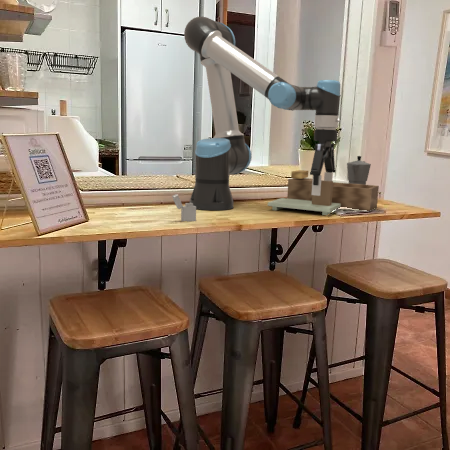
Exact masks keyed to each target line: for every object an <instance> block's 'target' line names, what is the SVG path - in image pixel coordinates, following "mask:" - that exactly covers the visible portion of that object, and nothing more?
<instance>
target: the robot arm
mask: <svg viewBox="0 0 450 450" xmlns="http://www.w3.org/2000/svg"><path fill="white" fill-rule="evenodd" d="M183 37H184V40H185V43H186V45H187V47H189V49H190V50H192V51H193V52H196V53H197V54H198V55H199V59H200V64H201V65H202V66H203V67H205V70H206V71H205V72H206V78H207V84H208V85H207V86H208V91H209V98H210V99H209V100H210V105H211V111H212V117H213V124H214V125H213V126H214V132H215V135H214V136H213V138H212V137H211V138H203V139H200V140H198V141H197V142H196V145H195V152H194V153H195V167H194V168H195V170H194V171H195V178H194V179H195V180H194V183H195V184H194V186H193V191H192V193H191V196H190V200H189V203H193V206H196V210H202V211H203V210H204V211H205V210H206V211H226V210H231V209H234V199H233V195H232V191H231V187H230V175H236V174H237V175H238V174H240V173H242V172H244V171H245V170H247V168H249V166H250V165H251V162H252V151H251V148H250V147H249V145H248V144H247V143H246V141H245V135H244V134H243V133H242V132H241V131H240V127H239V123H238V115H237V107H236V100H235V94H234V87H233V86H234V85H233V80H232V75H234V76H235V77H237V78H238V79H240V81H242V82H244V83H245V84H247V85H248V86H249V87H251V88H252V89H254V90H255V91H256V92H258V93H259V94H261V95H262V96H263V97H265V98H266V99H267V100H269V103H270V104H271V105H272V106H273V107H276V108H278V109H281V110H282V109H283V110H284V111H285V110H287V111H315V115H314V128H316V129H314V131H313V132H314V133H313V141H316V142H318V143H315V146H314V154H313V159H312V163H311V168H310V172H309V176H312V178H311V179H312V195H317V196H320V192H321V180H322V175H321V174H322V171H323V167H324V170H325V172H324V176H323V177H324V178H323V181H333V179H334V177H333V175H334V173H336V171H337V170H336V163H335V144H334V143H332V142H337V141H338V130H337V129H338V127H339V122H341V119H340V118H339V115H340V103H341V96H342V95H341V83H340V81H339V80H335V79H320V80H318V81H317V83H316V86H299V85H293V84H291V83H289V82H287V80H285V79H283V78H282V77H280V75H277V74H276V73H275V72H273V71H272V70H270V69H269V68H268V67H266V66H264V65H263V64H261V63H260V62H259V61H257V60H256V59H254V58H253V57H251V56H250V55H249V54H247V53H246V52H244V51H243V50H241V49H240V48H238V47H237V46H236V38H235V37H236V36H235V35H234V32H233V31H232V29H231V28H230V27H229V26H227V25H226V24H224V23H223V22H219V21H215V20H214V19H211V18H209V17H206V16H197V17H194V18H192V19H190V20H189V21H188V22H187V24H186V25H185V28H184V34H183Z"/></svg>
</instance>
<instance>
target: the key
mask: <svg viewBox="0 0 450 450" xmlns="http://www.w3.org/2000/svg"><path fill="white" fill-rule="evenodd" d="M290 175H291V178H290V179H292V178H298V179H303V178H309V170H305V169H302V170H301V169H298V170H297V169H296V170H291V174H290Z"/></svg>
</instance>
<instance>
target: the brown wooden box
mask: <svg viewBox="0 0 450 450" xmlns="http://www.w3.org/2000/svg"><path fill="white" fill-rule="evenodd" d="M312 179H313V178H309V177H307V178H303V179H298V178H287V181H288V182H287V194H286V195H287V196H286V198H287V199H298V200H308V201H312ZM379 188H380V187H379V185H374V184H366V185H363V184H349V182H348V183H347V182H346V183H345V182H336V181H335V182H334V181H333V191H332V203H340V204H341V207H347V208H352V209H359V210H367V211H370V210H372V209H374V208H375V209H376V208H378V200H379V199H378V198H379ZM375 209H374V210H375ZM372 211H373V210H372ZM370 212H371V211H370Z"/></svg>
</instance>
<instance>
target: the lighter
mask: <svg viewBox="0 0 450 450" xmlns="http://www.w3.org/2000/svg"><path fill="white" fill-rule="evenodd" d="M171 197H172V200H173V202H174V205H175V206H176V209H178V210H180V211H181V212H180V222H183V221H187V222H197V209H196V206H193V203H190V202H185V205H183V204H182V201H181V199H180V196H179V194H177V193H175V194H172V195H171Z"/></svg>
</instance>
